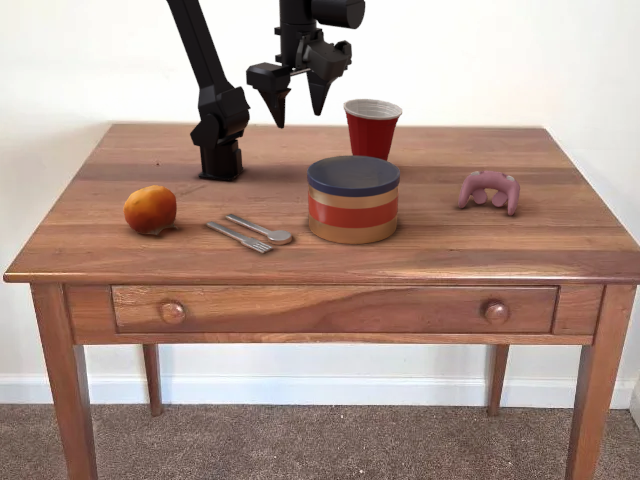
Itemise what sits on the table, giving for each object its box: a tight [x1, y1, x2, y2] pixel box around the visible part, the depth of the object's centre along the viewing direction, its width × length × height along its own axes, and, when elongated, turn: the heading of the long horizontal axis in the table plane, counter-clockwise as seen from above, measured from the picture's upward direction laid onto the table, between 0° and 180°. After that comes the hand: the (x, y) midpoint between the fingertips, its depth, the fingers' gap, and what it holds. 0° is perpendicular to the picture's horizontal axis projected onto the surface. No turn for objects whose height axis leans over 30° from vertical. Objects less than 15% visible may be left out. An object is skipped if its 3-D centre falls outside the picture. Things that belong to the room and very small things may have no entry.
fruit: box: [122, 184, 179, 237], centre depth 115 cm, size 8×8×8 cm
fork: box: [205, 220, 274, 255], centre depth 114 cm, size 14×2×1 cm, turn 49°
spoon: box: [225, 213, 292, 246], centre depth 116 cm, size 14×4×1 cm, turn 49°
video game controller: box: [457, 170, 521, 216], centre depth 125 cm, size 10×5×7 cm, turn 71°
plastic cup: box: [342, 98, 403, 161], centre depth 137 cm, size 11×11×12 cm
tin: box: [306, 154, 401, 245], centre depth 116 cm, size 14×14×9 cm
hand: (299, 121), depth 123 cm, fingers open, 9 cm apart
